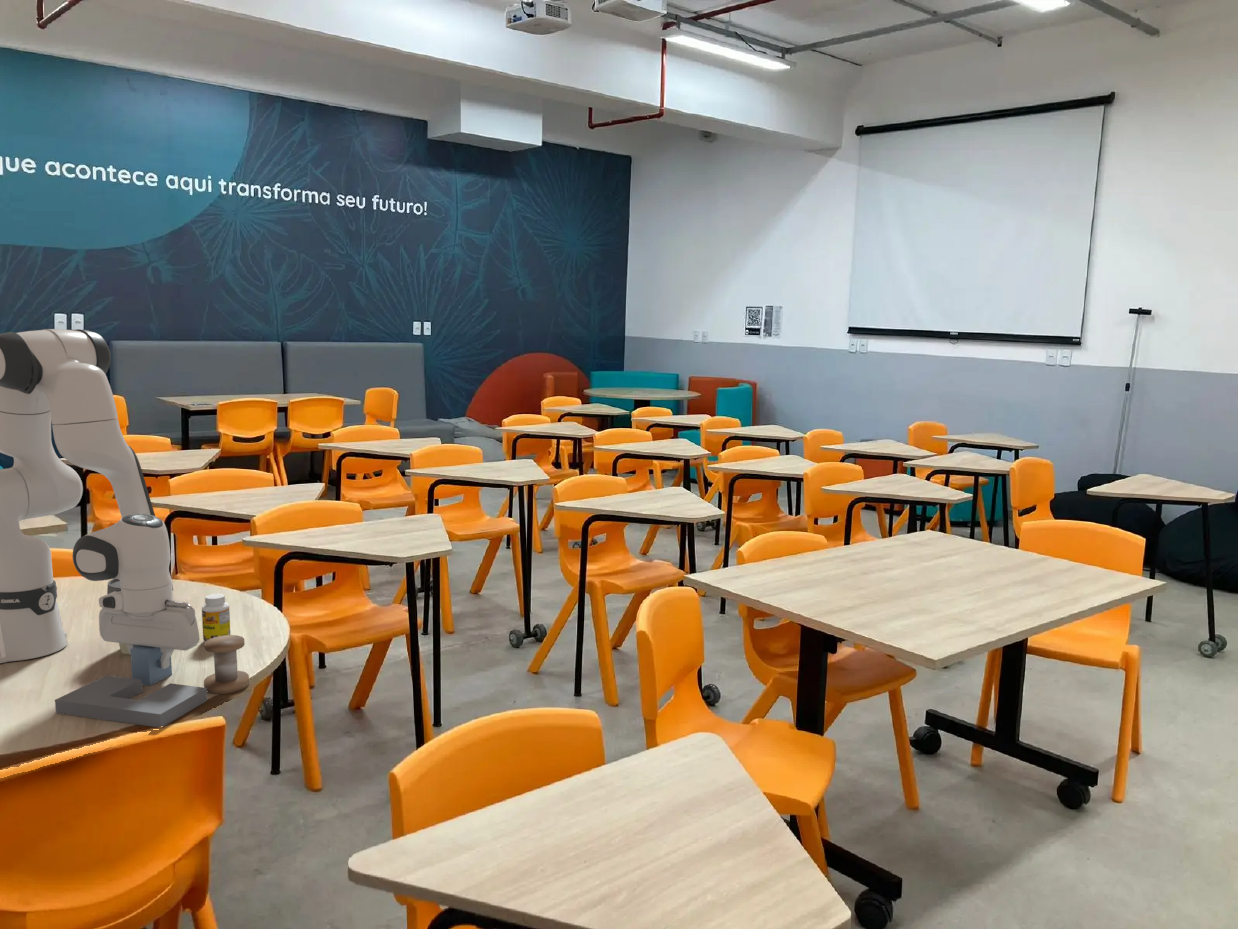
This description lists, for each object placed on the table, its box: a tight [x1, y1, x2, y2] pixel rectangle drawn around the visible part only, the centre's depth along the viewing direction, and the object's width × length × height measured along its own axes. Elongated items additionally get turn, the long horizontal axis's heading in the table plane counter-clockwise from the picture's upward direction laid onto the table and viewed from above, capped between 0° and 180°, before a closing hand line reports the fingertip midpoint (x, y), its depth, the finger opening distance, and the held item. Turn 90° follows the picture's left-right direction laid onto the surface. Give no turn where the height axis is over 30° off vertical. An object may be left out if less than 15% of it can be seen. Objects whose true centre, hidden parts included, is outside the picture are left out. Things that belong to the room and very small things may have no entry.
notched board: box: [54, 674, 208, 728], centre depth 167 cm, size 22×12×2 cm, turn 76°
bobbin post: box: [203, 634, 250, 695], centre depth 177 cm, size 8×8×9 cm
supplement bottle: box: [201, 593, 232, 643], centre depth 201 cm, size 6×6×10 cm
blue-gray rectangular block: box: [130, 645, 173, 687], centre depth 180 cm, size 4×6×7 cm, turn 167°
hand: (151, 666), depth 180 cm, fingers closed on blue-gray rectangular block, 4 cm apart
